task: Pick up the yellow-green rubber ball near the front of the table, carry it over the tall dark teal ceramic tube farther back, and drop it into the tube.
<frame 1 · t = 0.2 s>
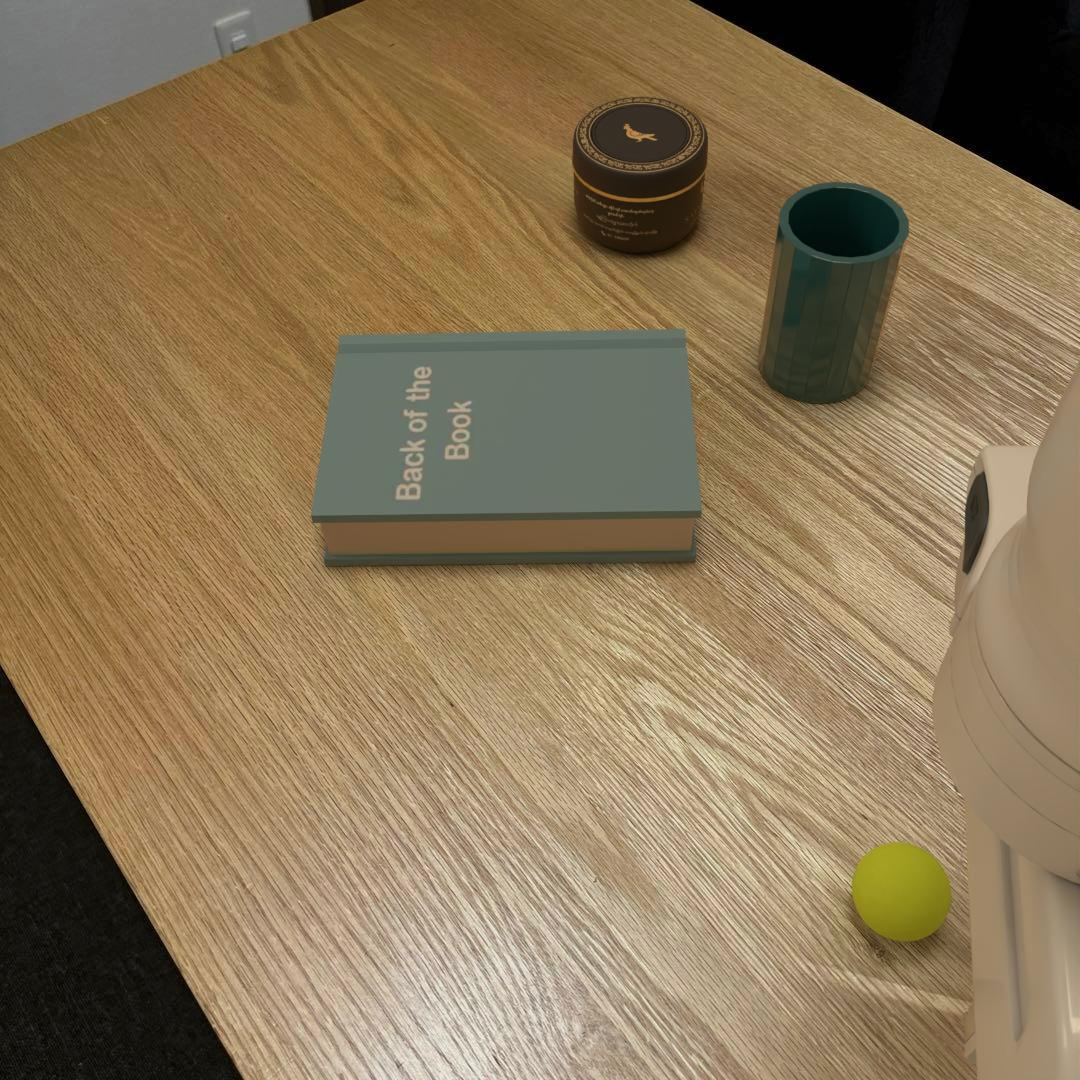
hand: (981, 902, 41), 18 cm above the table, tool pointing down, fingers open, 8 cm apart
ball: (901, 891, 57), point 2 cm above the table
tube: (814, 362, 82), on the table
jar: (636, 220, 93), on the table
book: (512, 466, 78), on the table
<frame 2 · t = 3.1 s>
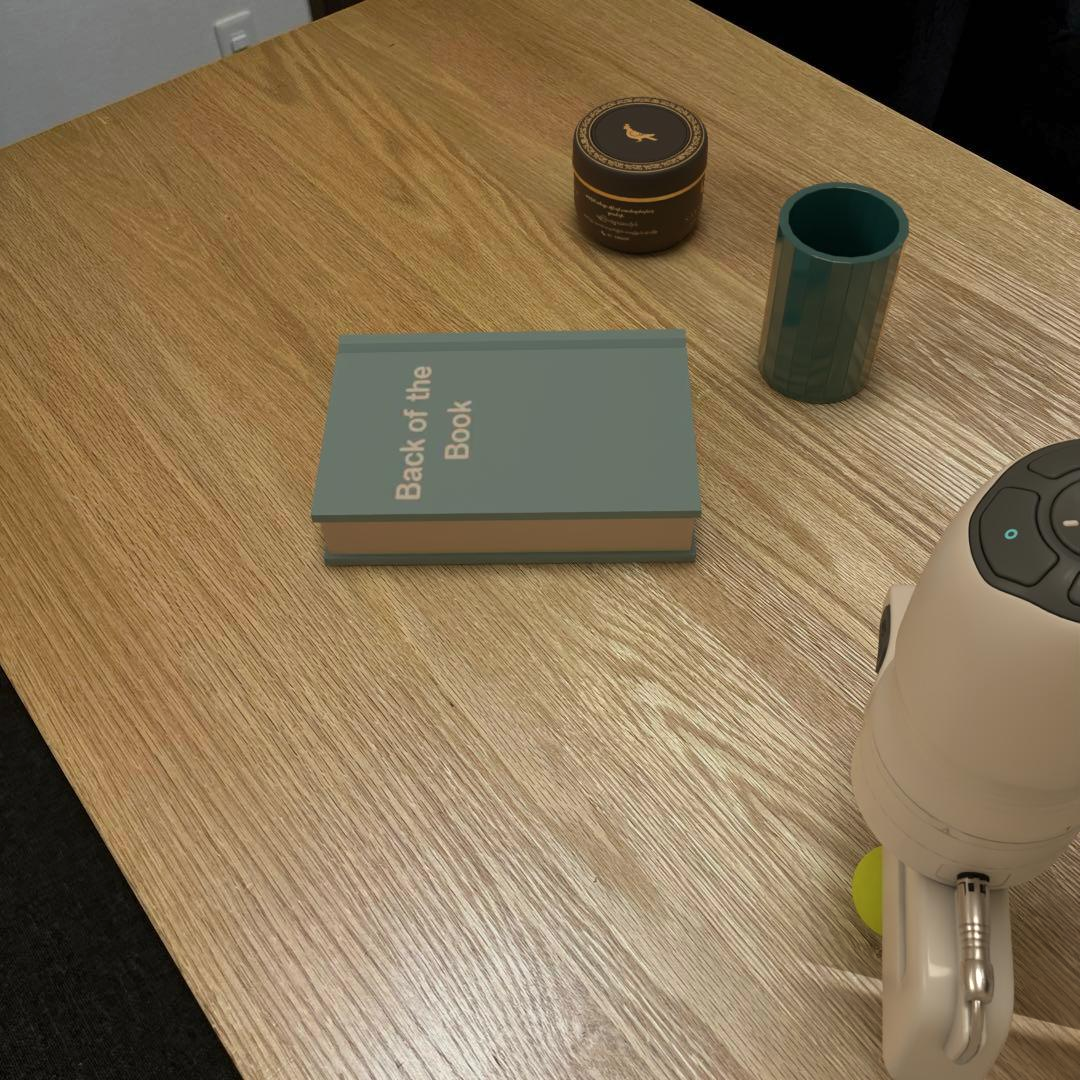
hand: (898, 895, 58), 2 cm above the table, tool pointing down, fingers closed on ball, 4 cm apart
ball: (900, 891, 57), point 2 cm above the table, touching gripper
everything else where it was.
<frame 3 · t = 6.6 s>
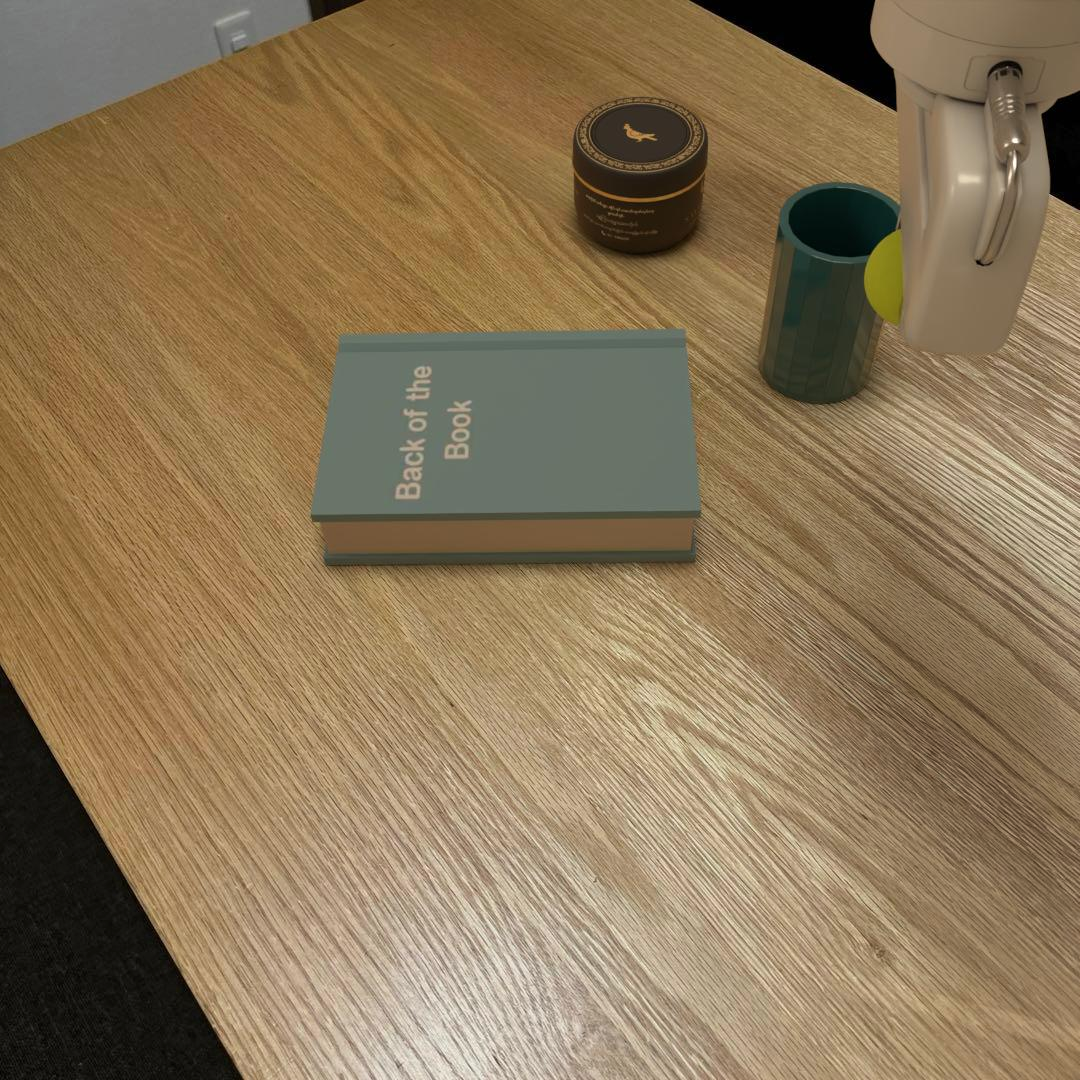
hand: (914, 285, 55), 22 cm above the table, tool pointing down, fingers closed on ball, 4 cm apart
ball: (916, 277, 54), point 22 cm above the table, touching gripper
everything else where it was.
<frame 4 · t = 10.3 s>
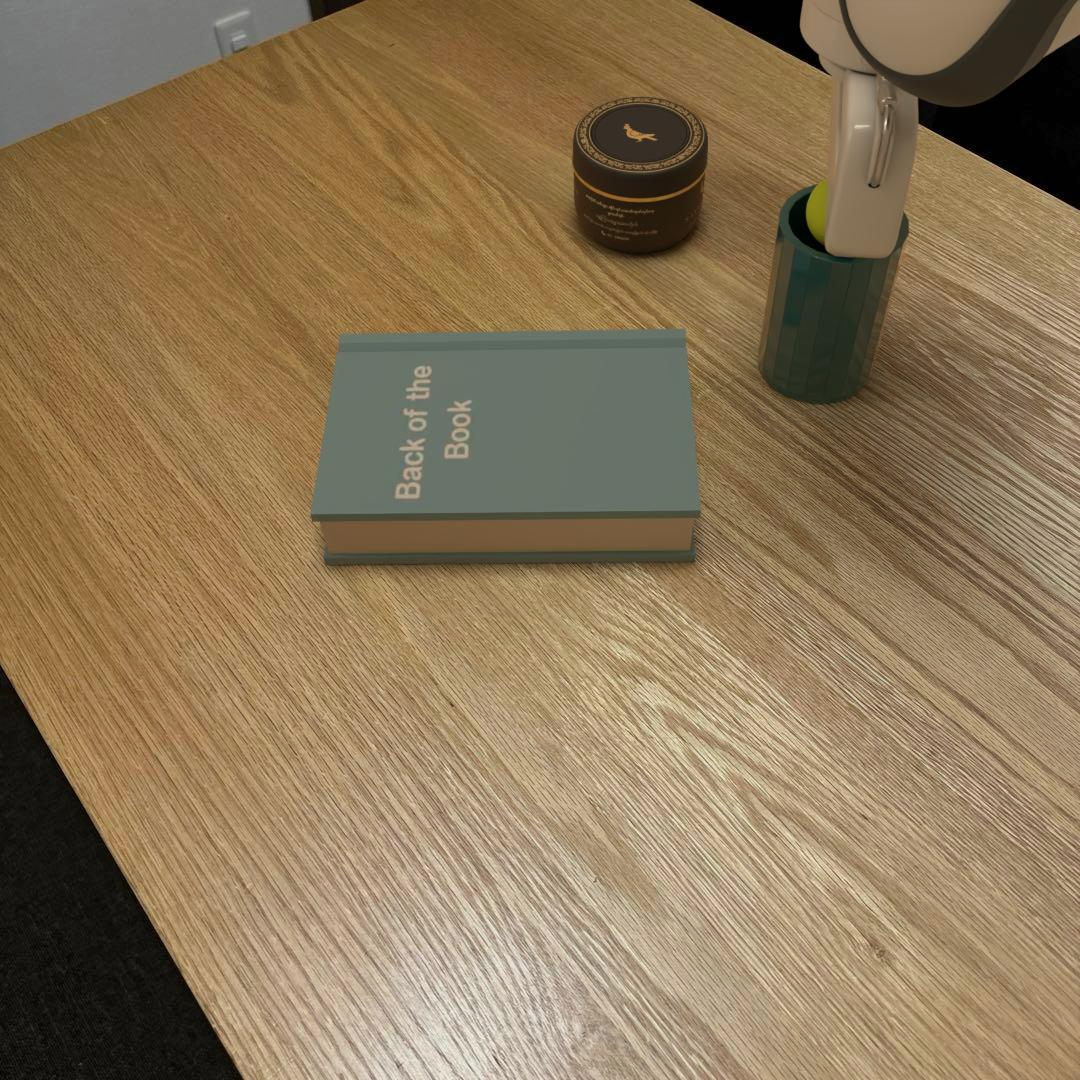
hand: (845, 218, 73), 12 cm above the table, tool pointing down, fingers closed on ball, 4 cm apart
ball: (844, 211, 72), point 13 cm above the table, touching gripper
everything else where it was.
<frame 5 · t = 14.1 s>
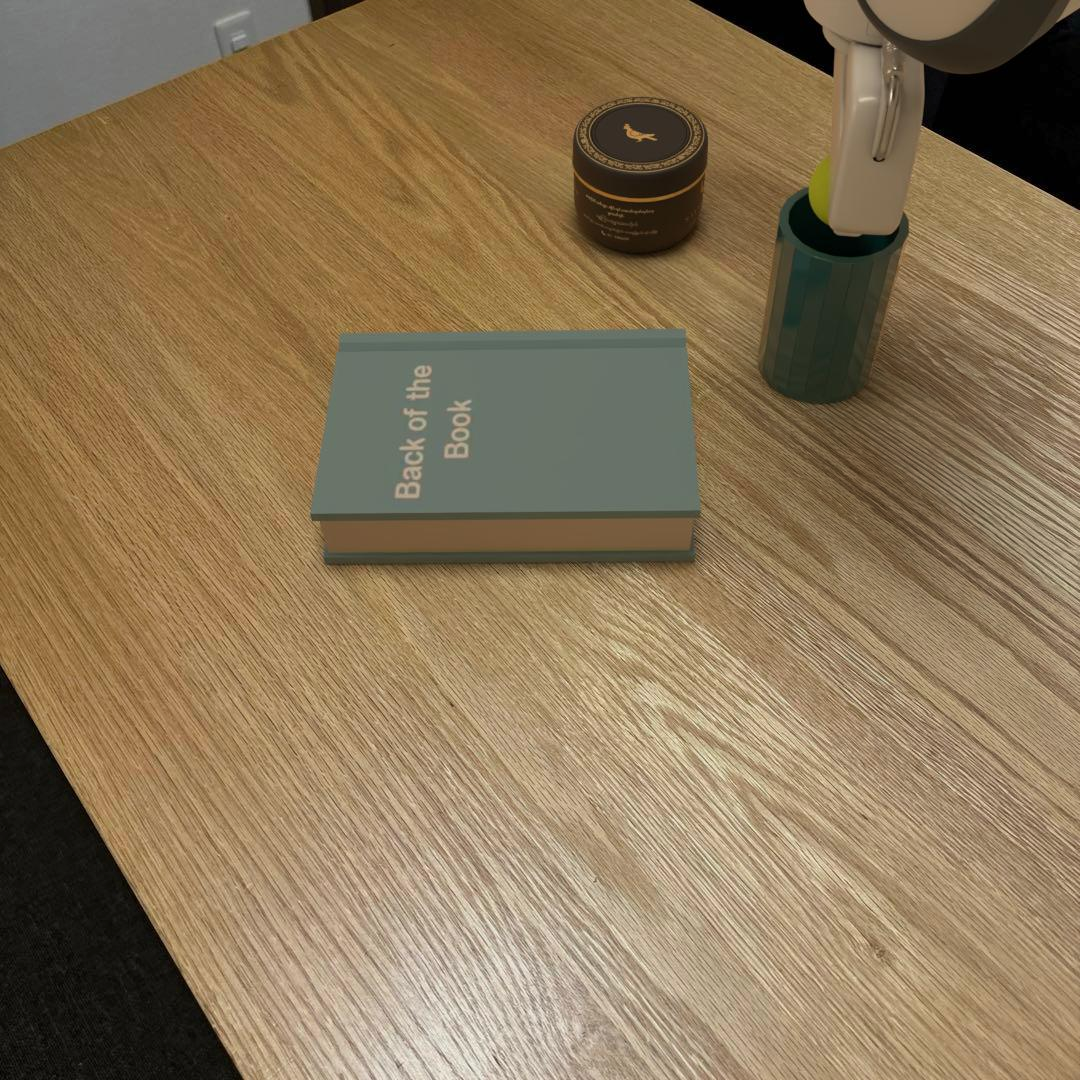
hand: (848, 197, 71), 14 cm above the table, tool pointing down, fingers closed on ball, 4 cm apart
ball: (848, 189, 71), point 14 cm above the table, touching gripper
everything else where it was.
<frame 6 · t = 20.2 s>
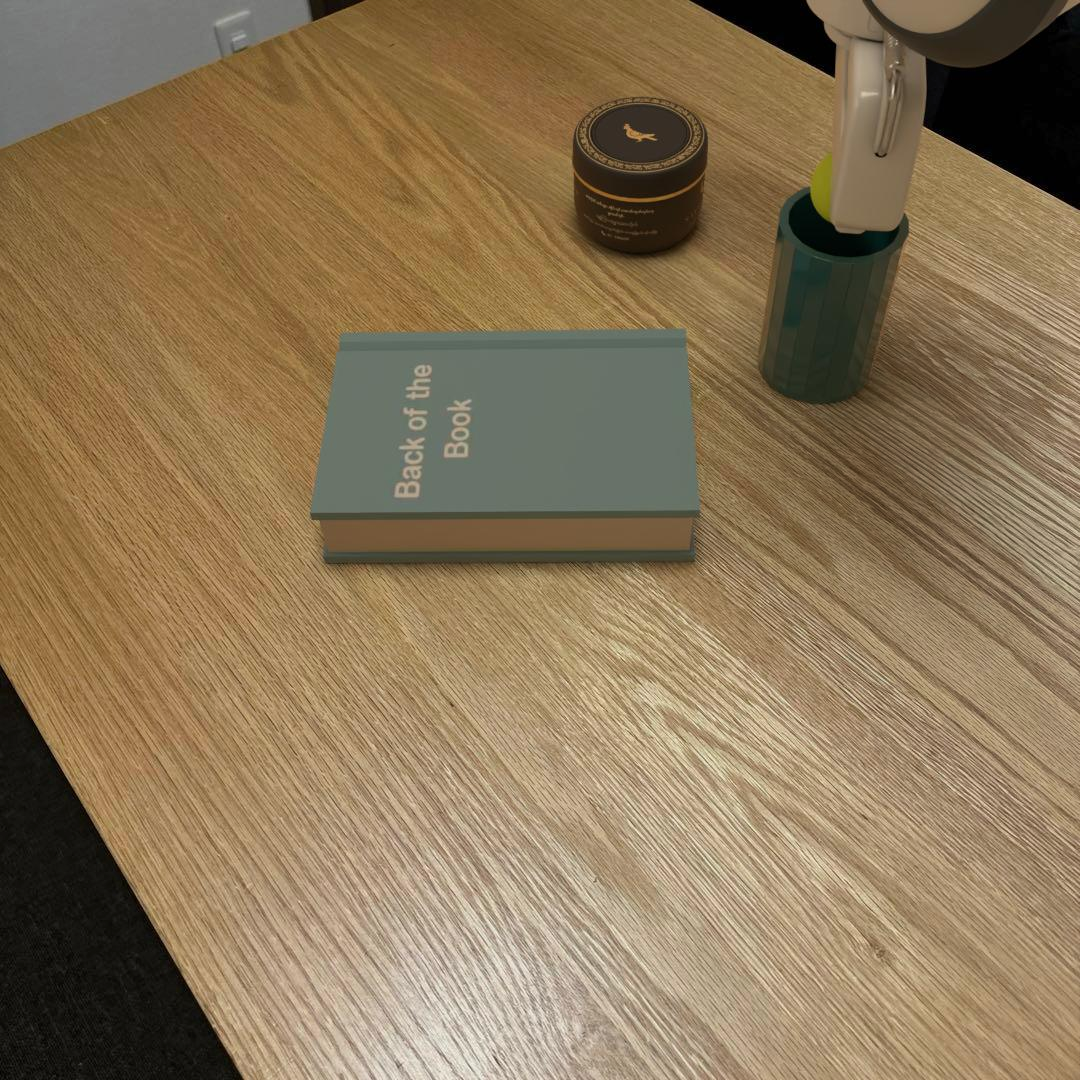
hand: (850, 194, 71), 14 cm above the table, tool pointing down, fingers closed on ball, 4 cm apart
ball: (849, 186, 71), point 15 cm above the table, touching gripper
everything else where it was.
when the fingers open (15 cm above the table, at t = 25.1 s): ball drops 13 cm, resting on tube.
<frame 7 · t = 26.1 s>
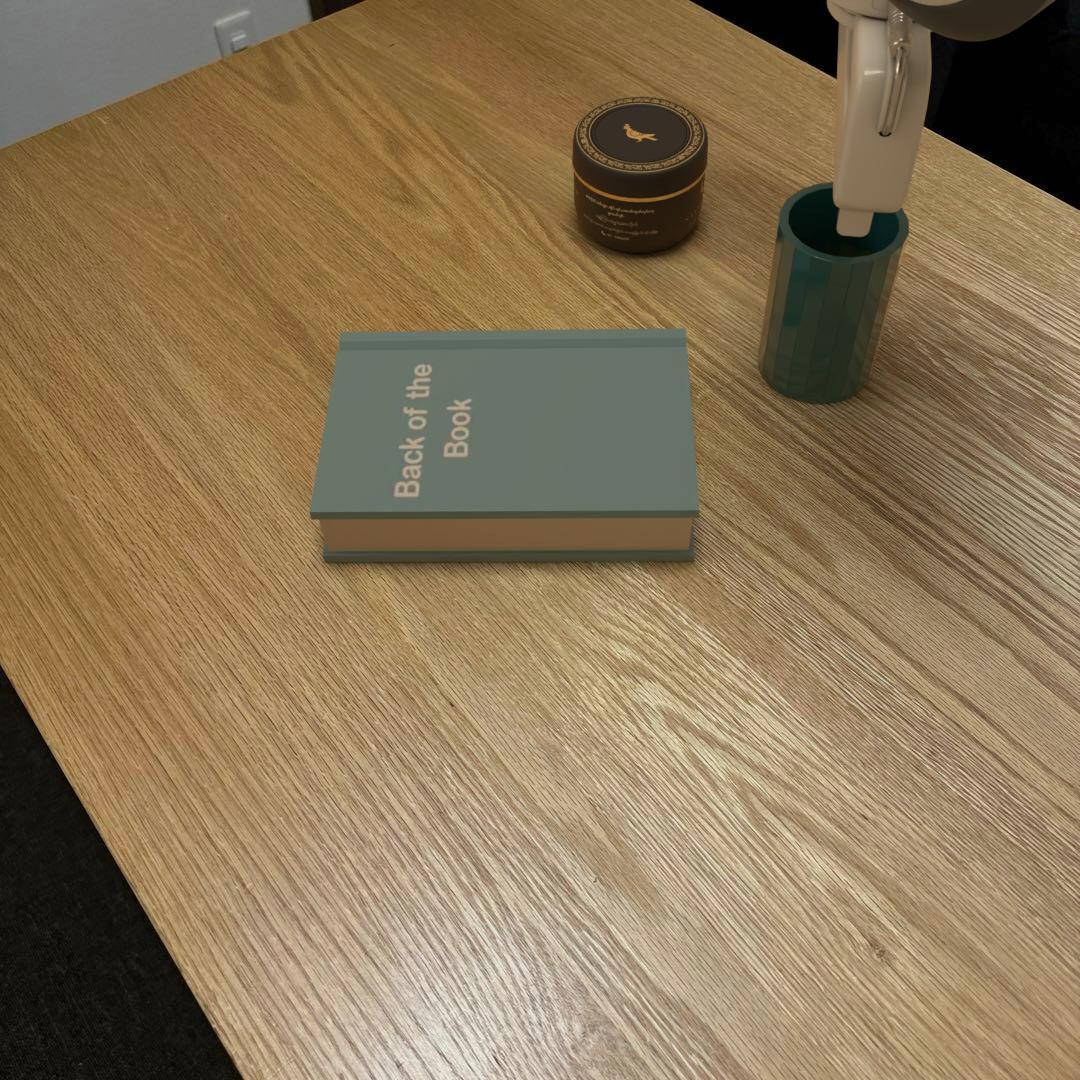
hand: (852, 177, 70), 15 cm above the table, tool pointing down, fingers open, 8 cm apart
ball: (816, 322, 81), point 3 cm above the table, tilted 28°, touching tube
everything else where it was.
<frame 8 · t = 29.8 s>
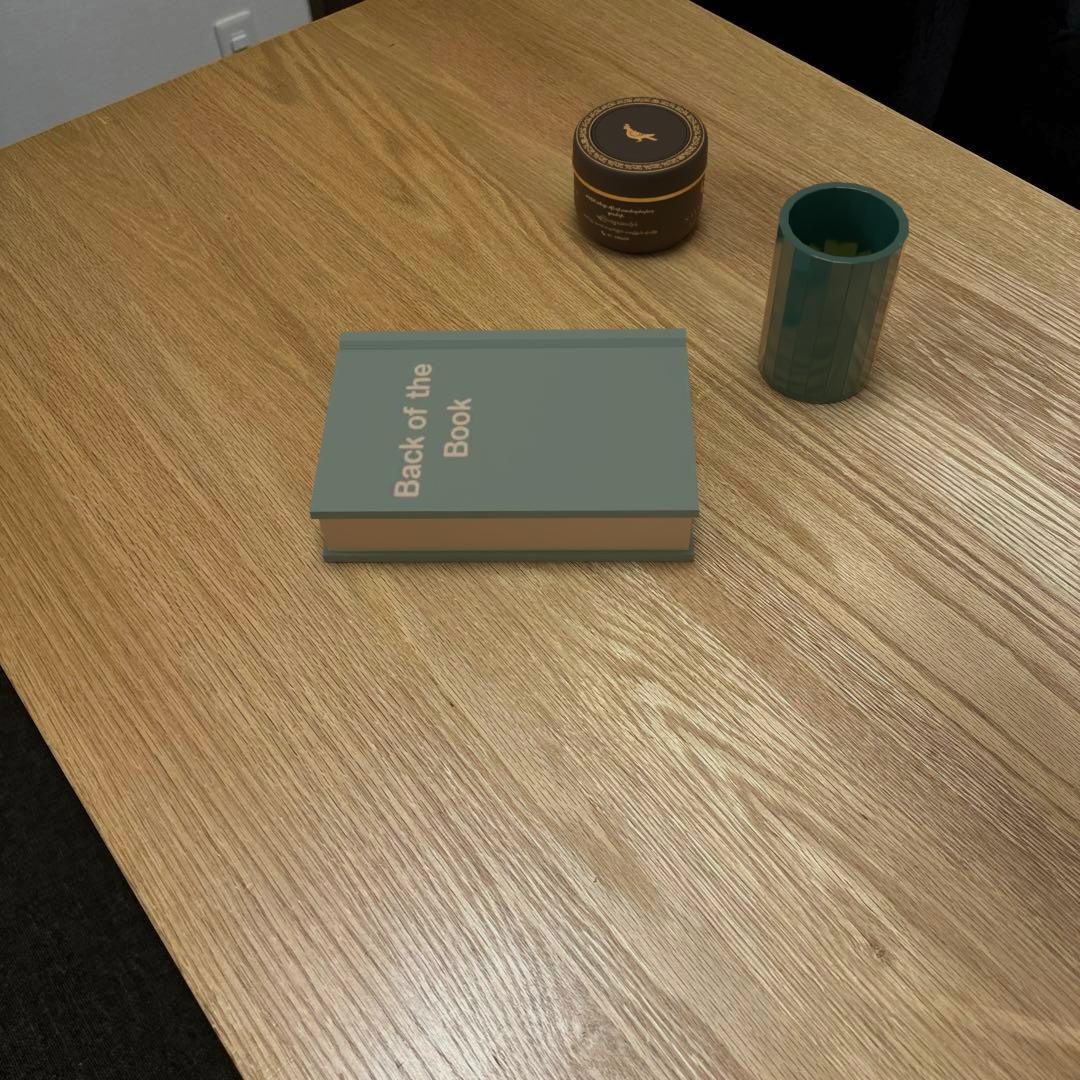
ball: (818, 327, 80), point 3 cm above the table, tilted 17°, touching tube
everything else where it was.
at the end: ball 0.5 cm off-centre in the tube, point 2.8 cm above the tube's base; the gripper is holding nothing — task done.
